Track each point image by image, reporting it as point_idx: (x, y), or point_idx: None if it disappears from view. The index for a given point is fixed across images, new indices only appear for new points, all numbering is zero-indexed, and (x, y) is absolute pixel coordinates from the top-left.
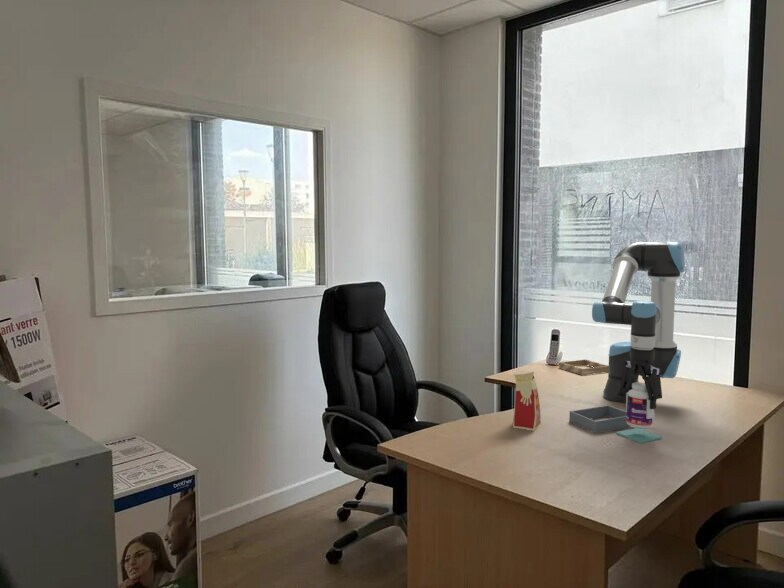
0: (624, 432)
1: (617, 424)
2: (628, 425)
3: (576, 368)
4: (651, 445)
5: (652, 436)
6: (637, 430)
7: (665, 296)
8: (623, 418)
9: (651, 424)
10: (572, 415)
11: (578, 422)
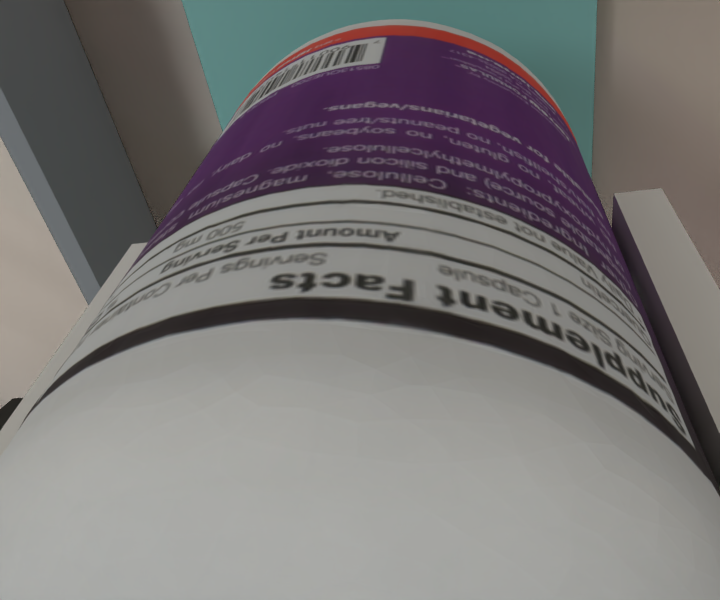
0: None
1: (122, 222)
2: (62, 30)
3: None
4: (697, 185)
5: (523, 11)
6: (267, 49)
7: None
8: (53, 165)
9: (569, 126)
10: None
11: None
